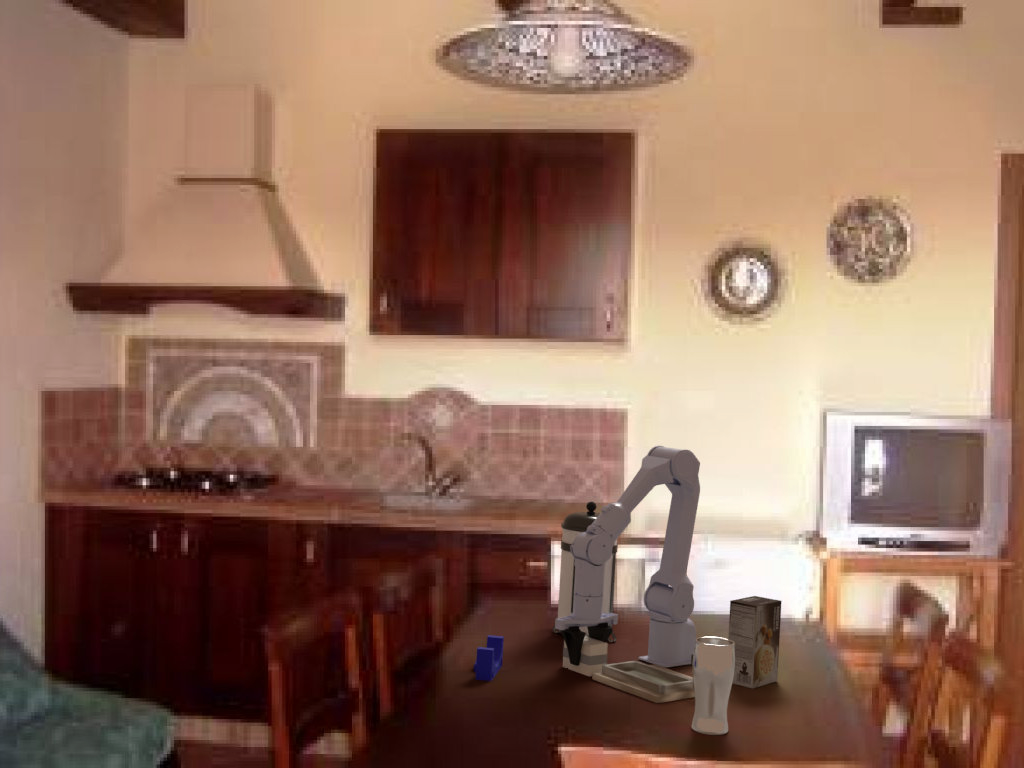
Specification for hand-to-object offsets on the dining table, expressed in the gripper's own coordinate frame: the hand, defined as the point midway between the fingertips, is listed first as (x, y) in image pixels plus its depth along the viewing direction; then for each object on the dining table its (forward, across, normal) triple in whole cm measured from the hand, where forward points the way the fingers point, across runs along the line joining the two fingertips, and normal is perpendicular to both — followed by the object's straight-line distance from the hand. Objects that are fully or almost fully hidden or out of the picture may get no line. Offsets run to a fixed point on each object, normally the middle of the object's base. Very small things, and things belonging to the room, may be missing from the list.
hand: (584, 663), depth 244 cm
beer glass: (+2, +6, +40) cm, 40 cm away
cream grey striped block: (+1, 0, 0) cm, 1 cm away
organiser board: (+1, -5, +15) cm, 16 cm away
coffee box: (+2, -25, +21) cm, 33 cm away
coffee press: (+2, -19, -24) cm, 31 cm away
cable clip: (+2, +19, -7) cm, 20 cm away
